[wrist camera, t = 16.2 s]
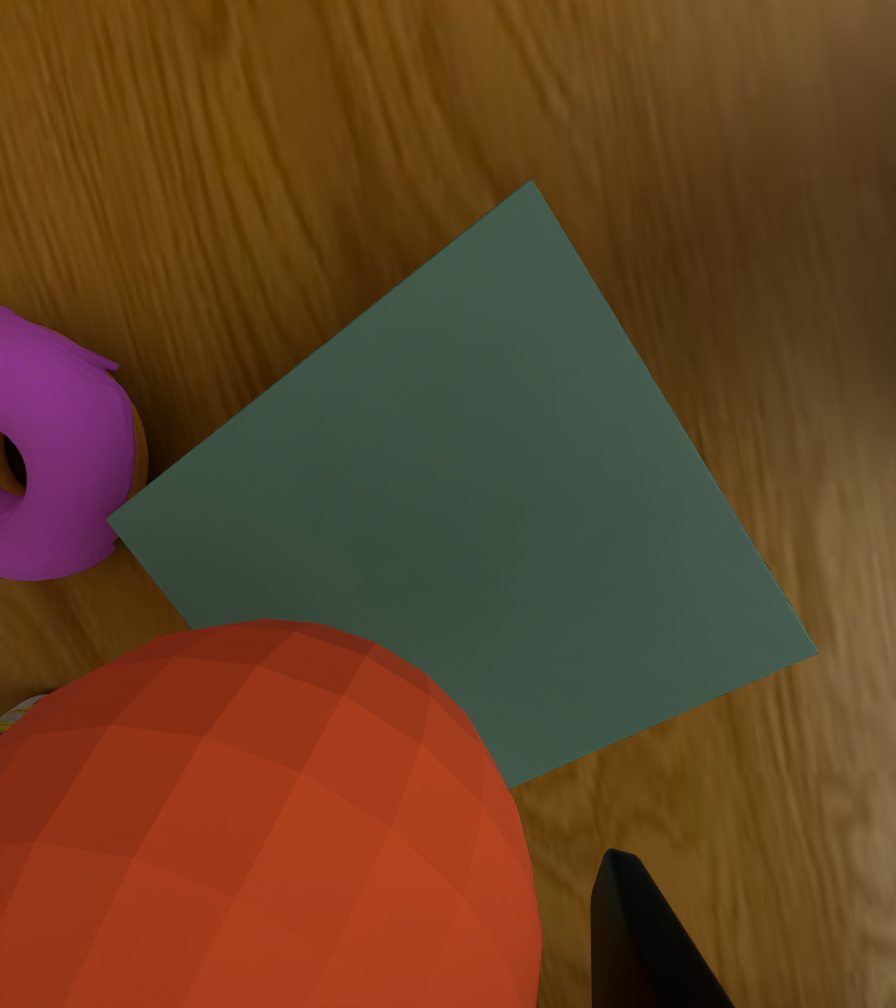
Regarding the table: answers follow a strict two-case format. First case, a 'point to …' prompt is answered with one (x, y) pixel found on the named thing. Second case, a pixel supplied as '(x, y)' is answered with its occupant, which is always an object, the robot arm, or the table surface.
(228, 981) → the clementine
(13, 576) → the donut
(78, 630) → the table surface
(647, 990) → the robot arm
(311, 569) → the lid
